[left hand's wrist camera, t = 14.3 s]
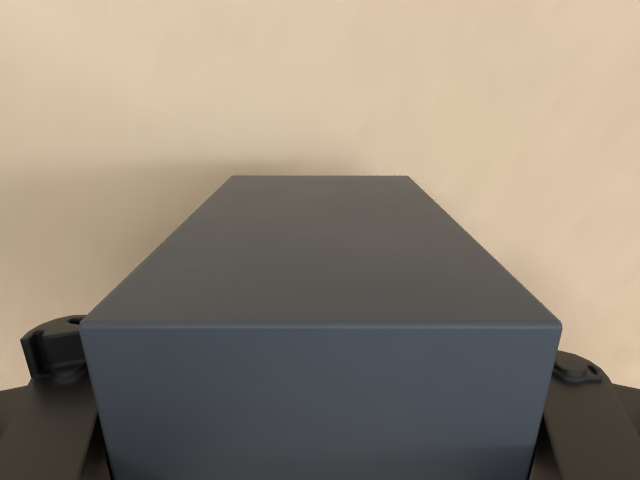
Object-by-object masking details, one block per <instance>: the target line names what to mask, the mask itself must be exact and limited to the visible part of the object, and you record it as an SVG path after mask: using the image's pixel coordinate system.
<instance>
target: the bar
mask: <svg viewBox="0 0 640 480" xmlns="http://www.w3.org/2000/svg"><path fill="white" fill-rule="evenodd" d="M79 332H80V337H81V341H82V345H83V350H84V354H85V358H86V362H87V367H88V371H89V375H90V380H91V384H92V388H93V392H94V397H95V401H96V405H97V410H98V414H99V418H100V422H101V427H102V431H103V435H104V440H105V444H106V448H107V452H108V457H109V461H110V465H111V470H112V474H113V478H114V480H527V478H528V473H529V469H530V465H531V460H532V456H533V452H534V448H535V443H536V439H537V435H538V431H539V426H540V422H541V418H542V414H543V409H544V405H545V401H546V397H547V392H548V388H549V384H550V379H551V375H552V371H553V367H554V362H555V358H556V354H557V350H558V345H559V341H560V337H561V333H562V324H561V321H560V320H559V319H557V318H556V317H555V316H554V315H553V314H552V313H551V312H550V311H549V310H548V309H547V308H546V307H545V306H544V305H543V304H542V303H541V302H540V301H539V300H538V299H536V298H535V297H534V296H533V295H532V294H531V293H530V292H529V291H528V290H527V289H526V288H525V287H524V286H523V285H522V284H521V283H520V282H519V281H518V280H517V279H516V278H514V277H513V276H512V275H511V274H510V273H509V272H508V271H507V270H506V269H505V268H504V267H503V266H502V265H501V264H500V263H499V262H498V261H497V260H496V259H495V258H494V257H492V256H491V255H490V254H489V253H488V252H487V251H486V250H485V249H484V248H483V247H482V246H481V245H480V244H479V243H478V242H477V241H476V240H475V239H474V238H473V237H472V236H470V235H469V234H468V233H467V232H466V231H465V230H464V229H463V228H462V227H461V226H460V225H459V224H458V223H457V222H456V221H455V220H454V219H453V218H452V217H451V216H450V215H448V214H447V213H446V212H445V211H444V210H443V209H442V208H441V207H440V206H439V205H438V204H437V203H436V202H435V201H434V200H433V199H432V198H431V197H430V196H429V195H427V194H426V193H425V192H424V191H423V190H422V189H421V188H420V187H419V186H418V185H417V184H416V183H415V182H414V181H413V180H412V179H411V178H410V177H408V176H232V177H231V178H230V179H228V180H227V181H226V182H225V183H224V184H223V185H222V186H221V187H220V188H219V189H218V190H217V191H216V192H215V193H214V194H213V195H212V196H211V197H210V198H209V199H208V200H207V201H206V202H204V203H203V204H202V205H201V206H200V207H199V208H198V209H197V210H196V211H195V212H194V213H193V214H192V215H191V216H190V217H189V218H188V219H187V220H186V221H185V222H184V223H183V224H182V225H181V226H179V227H178V228H177V229H176V230H175V231H174V232H173V233H172V234H171V235H170V236H169V237H168V238H167V239H166V240H165V241H164V242H163V243H162V244H161V245H160V246H159V247H158V248H157V249H156V250H154V251H153V252H152V253H151V254H150V255H149V256H148V257H147V258H146V259H145V260H144V261H143V262H142V263H141V264H140V265H139V266H138V267H137V268H136V269H135V270H134V271H133V272H132V273H130V274H129V275H128V276H127V277H126V278H125V279H124V280H123V281H122V282H121V283H120V284H119V285H118V286H117V287H116V288H115V289H114V290H113V291H112V292H111V293H110V294H109V295H108V296H107V297H105V298H104V299H103V300H102V301H101V302H100V303H99V304H98V305H97V306H96V307H95V308H94V309H93V310H92V311H91V312H90V313H89V314H88V315H87V316H86V317H85V318H84V319H83V320H82V321H80V324H79Z"/></svg>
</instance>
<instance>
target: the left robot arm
mask: <svg viewBox="0 0 640 480" xmlns="http://www.w3.org/2000/svg"><path fill="white" fill-rule="evenodd" d="M86 316H87V315H73V316H67V317H62V318H58V319H54V320H52V321H49V322H46V323H44V324H41V325H39V326H37V327H36V328H34V329H32V330H30V331H29V332H28V333H27V334H26V335H25V336H23V337H22V338H21V339H20V341H21V344H22V348H23V351H24V355H25V358H26V361H27V365H28V368H29V371H30V375H31V380H30V382H29V384H28V385H27V386H23V387H18V388H13V389H8V390H3V391H0V480H114V478H113V474H112V470H111V465H110V461H109V457H108V452H107V448H106V444H105V440H104V435H103V431H102V427H101V422H100V418H99V414H98V410H97V405H96V401H95V397H94V392H93V388H92V384H91V380H90V375H89V371H88V367H87V362H86V358H85V354H84V350H83V345H82V341H81V337H80V332H79V324H80V321H82V320H83V319H84V318H85V317H86ZM527 480H640V389H636V388H631V387H626V386H621V385H617V384H613V383H611V381H610V379H609V377H608V376H607V375H606V374H605V373H604V372H603V370H602V369H601V368H599V367H598V366H596V365H595V364H593V363H592V362H591V361H589V360H587V359H584V358H582V357H580V356H577V355H575V354H571V353H567V352H563V351H558V350H557V354H556V358H555V362H554V367H553V371H552V375H551V379H550V384H549V388H548V392H547V397H546V401H545V405H544V409H543V414H542V418H541V422H540V426H539V431H538V435H537V439H536V443H535V448H534V452H533V456H532V460H531V465H530V469H529V473H528V478H527Z"/></svg>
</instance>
